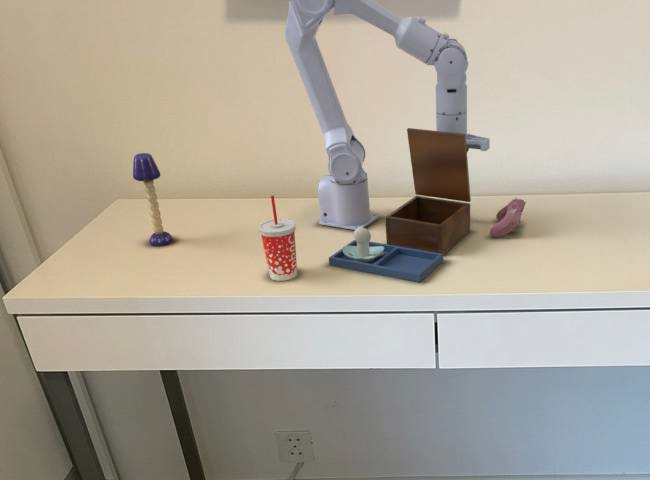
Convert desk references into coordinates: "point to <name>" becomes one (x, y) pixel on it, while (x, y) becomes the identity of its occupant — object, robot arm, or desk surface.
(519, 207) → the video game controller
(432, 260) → the tray
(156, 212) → the toy lamp
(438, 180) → the chest lid
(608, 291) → the desk surface
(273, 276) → the beverage cup
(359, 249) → the pacifier
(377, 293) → the desk surface
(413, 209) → the chest
